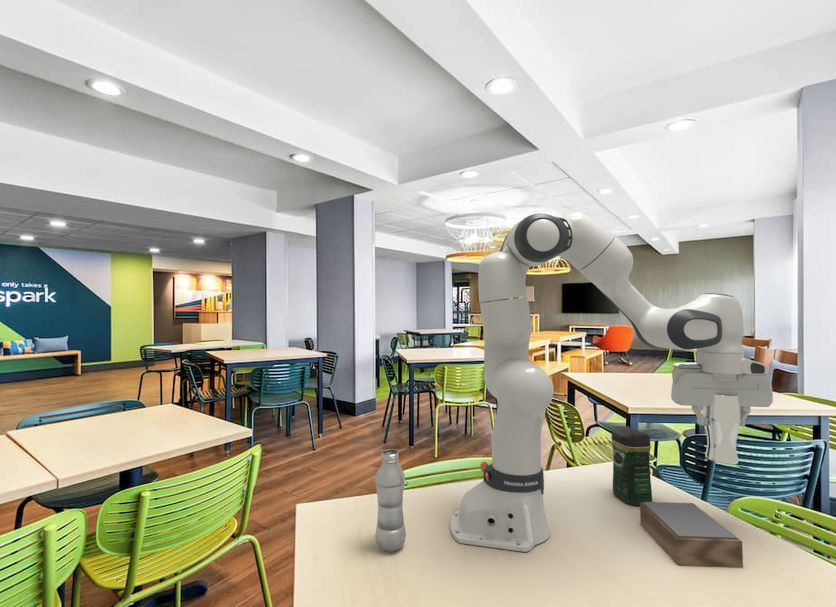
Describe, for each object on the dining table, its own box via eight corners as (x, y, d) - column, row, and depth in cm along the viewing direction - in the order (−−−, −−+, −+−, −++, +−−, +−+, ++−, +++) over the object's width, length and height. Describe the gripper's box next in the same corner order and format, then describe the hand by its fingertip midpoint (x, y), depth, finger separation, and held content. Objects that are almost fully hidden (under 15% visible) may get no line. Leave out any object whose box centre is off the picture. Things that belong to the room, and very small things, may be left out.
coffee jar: (658, 506, 106) (656, 432, 107) (629, 507, 105) (627, 434, 106) (634, 490, 116) (633, 423, 117) (607, 491, 115) (606, 424, 116)
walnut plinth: (678, 565, 81) (677, 537, 81) (640, 524, 97) (640, 500, 97) (743, 567, 80) (742, 539, 80) (694, 525, 96) (693, 502, 96)
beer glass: (747, 466, 90) (747, 396, 91) (711, 463, 92) (711, 395, 92) (730, 455, 97) (730, 391, 97) (697, 453, 98) (697, 389, 99)
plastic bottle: (409, 540, 91) (409, 448, 91) (400, 558, 84) (399, 458, 85) (382, 536, 93) (381, 446, 93) (370, 553, 86) (370, 456, 87)
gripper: (679, 365, 93) (680, 428, 92) (777, 366, 91) (778, 430, 91) (665, 362, 99) (666, 421, 98) (756, 363, 97) (757, 423, 97)
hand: (720, 425), depth 95 cm, fingers closed on beer glass, 6 cm apart
